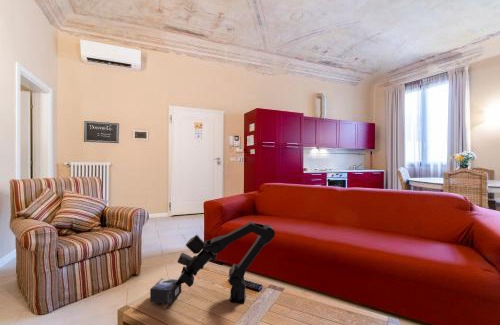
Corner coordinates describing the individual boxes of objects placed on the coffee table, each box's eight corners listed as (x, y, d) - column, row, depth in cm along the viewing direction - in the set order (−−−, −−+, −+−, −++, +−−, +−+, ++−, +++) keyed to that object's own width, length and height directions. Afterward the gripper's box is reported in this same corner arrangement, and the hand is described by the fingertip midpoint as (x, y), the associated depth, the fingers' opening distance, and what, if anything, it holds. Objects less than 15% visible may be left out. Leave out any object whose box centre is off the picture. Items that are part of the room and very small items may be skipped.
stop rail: (178, 292, 124) (178, 289, 124) (165, 309, 110) (165, 305, 110) (175, 292, 124) (175, 289, 124) (161, 308, 110) (161, 305, 110)
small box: (171, 290, 111) (149, 288, 113) (171, 304, 111) (149, 303, 113) (181, 278, 121) (161, 277, 123) (181, 292, 122) (161, 290, 123)
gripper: (191, 241, 126) (168, 263, 125) (185, 256, 107) (158, 282, 106) (206, 256, 127) (183, 279, 126) (204, 273, 108) (177, 300, 107)
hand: (176, 284), depth 116 cm, fingers closed
